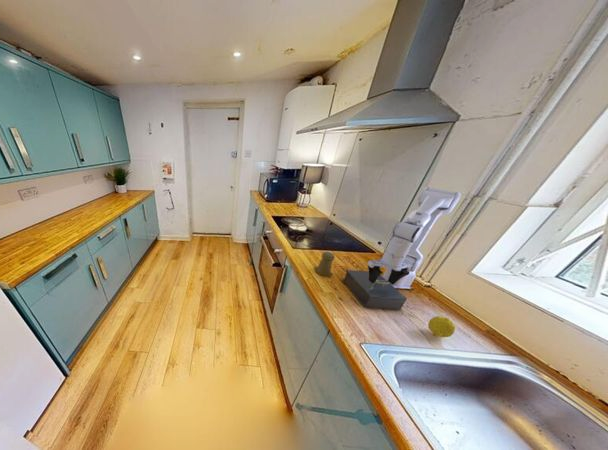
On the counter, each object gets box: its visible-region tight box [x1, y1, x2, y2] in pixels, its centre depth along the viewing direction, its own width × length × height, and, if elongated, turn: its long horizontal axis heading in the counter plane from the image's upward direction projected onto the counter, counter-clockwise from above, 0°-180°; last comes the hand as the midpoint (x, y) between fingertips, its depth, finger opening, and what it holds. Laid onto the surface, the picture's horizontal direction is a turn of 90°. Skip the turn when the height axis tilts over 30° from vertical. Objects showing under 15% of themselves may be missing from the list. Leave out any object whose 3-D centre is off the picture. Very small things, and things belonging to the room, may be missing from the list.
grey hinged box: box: [342, 272, 407, 311], centre depth 83 cm, size 15×13×5 cm
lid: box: [345, 269, 408, 301], centre depth 82 cm, size 16×13×4 cm
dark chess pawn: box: [315, 251, 336, 277], centre depth 95 cm, size 6×6×11 cm
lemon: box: [427, 315, 456, 338], centre depth 66 cm, size 6×6×8 cm
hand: (380, 282), depth 79 cm, fingers open, 7 cm apart
